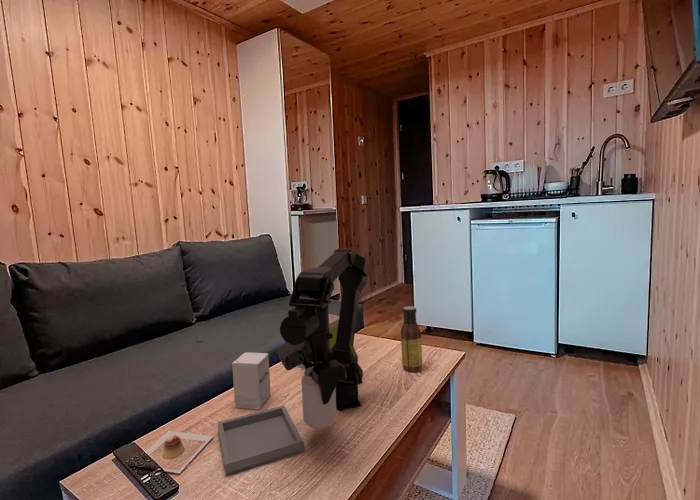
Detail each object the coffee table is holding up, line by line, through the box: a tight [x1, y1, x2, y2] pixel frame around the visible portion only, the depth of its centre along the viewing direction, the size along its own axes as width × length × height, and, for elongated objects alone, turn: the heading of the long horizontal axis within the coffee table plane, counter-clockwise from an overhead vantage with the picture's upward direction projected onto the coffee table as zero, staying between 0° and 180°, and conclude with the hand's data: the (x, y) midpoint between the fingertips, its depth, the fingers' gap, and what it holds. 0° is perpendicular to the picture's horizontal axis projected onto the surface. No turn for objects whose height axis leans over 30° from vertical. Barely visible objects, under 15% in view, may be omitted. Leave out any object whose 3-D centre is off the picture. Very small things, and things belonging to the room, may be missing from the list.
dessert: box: [144, 430, 214, 474], centre depth 81 cm, size 12×12×5 cm
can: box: [301, 366, 337, 430], centre depth 84 cm, size 8×8×12 cm
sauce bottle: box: [400, 305, 423, 372], centre depth 117 cm, size 6×6×20 cm
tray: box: [217, 405, 305, 477], centre depth 84 cm, size 16×16×2 cm
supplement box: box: [231, 352, 272, 411], centre depth 100 cm, size 7×7×13 cm
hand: (319, 395), depth 84 cm, fingers closed on can, 7 cm apart
